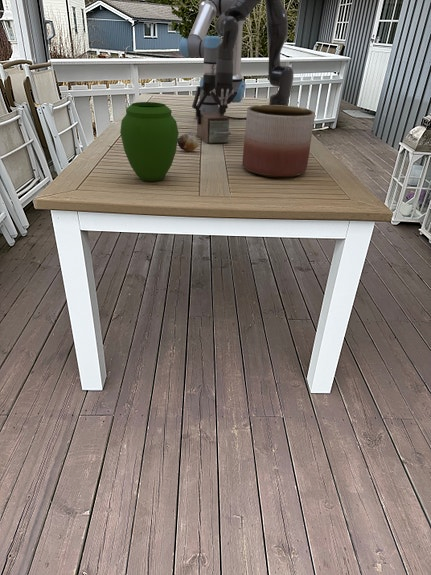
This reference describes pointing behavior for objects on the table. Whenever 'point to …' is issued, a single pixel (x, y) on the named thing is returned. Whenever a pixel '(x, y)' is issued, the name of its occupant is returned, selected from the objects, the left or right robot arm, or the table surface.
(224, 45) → the right robot arm
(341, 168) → the table surface
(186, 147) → the seashell
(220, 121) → the drawer
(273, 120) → the planter
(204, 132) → the long brown box
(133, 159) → the vase
